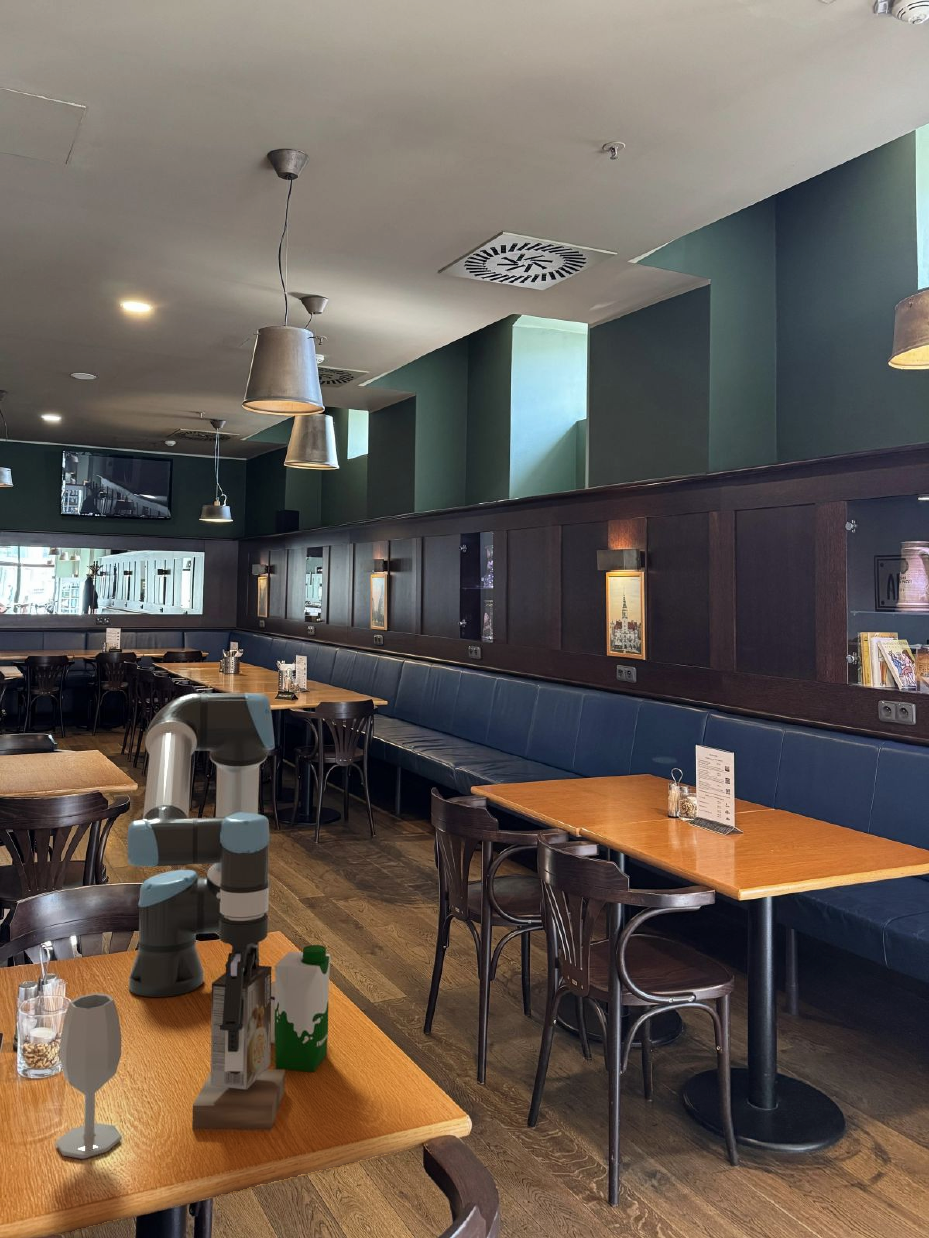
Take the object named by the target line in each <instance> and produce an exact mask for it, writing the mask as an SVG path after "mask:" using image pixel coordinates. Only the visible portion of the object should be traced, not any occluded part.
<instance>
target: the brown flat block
mask: <svg viewBox="0 0 929 1238" xmlns="http://www.w3.org/2000/svg"><path fill="white" fill-rule="evenodd" d="M285 1092H286V1069H265V1070H264V1071H263V1073H262V1074H261V1075H260V1076H259V1077H258V1078H257V1079H256V1080H255V1081H254V1082H253V1083H252V1085H251V1086H250V1087H249V1088H248V1089H237V1088H229V1087H220V1086H212V1085H211V1071H210V1072H209V1074H208V1076H207V1078H206V1080H205V1082H204V1084H203V1086H202V1088H201V1089H200V1091H199V1092H198V1095H197V1097H196V1098H195V1100H194V1103H193V1104H192V1125H191V1126H192V1127H191V1129H192V1130H227V1131H228V1130H229V1131H230V1130H238V1131H240V1130H242V1131H243V1130H244V1131H245V1130H247V1131H248V1130H251V1131H253V1130H254V1131H255V1130H256V1131H257V1130H258V1131H259V1130H260V1131H263V1130H264V1131H267V1130H268V1131H271V1130H272V1129H273V1127H274V1125H275V1121H276V1118H277V1115H278V1112H279V1109H280V1106H281V1104H282V1101H283V1097H284V1095H285Z"/></svg>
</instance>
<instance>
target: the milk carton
mask: <svg viewBox="0 0 929 1238" xmlns="http://www.w3.org/2000/svg"><path fill="white" fill-rule="evenodd" d="M331 958H332V957H331V954H329V953H327V947H326V946H324V945H319V944H311V945H307V946H304V947H303V948H302V952H300V951H299V952H297V951H288V953H287V954H285V955H284V956H283V957H282V958H281V959H280V960H279V961H278V962H277V963H275V964H274V982H275V1031H274V1041H275V1044H274V1068H275V1069H276V1070H287V1071H299V1072H308V1073H309V1072H310V1073H315V1071H317V1069H318V1067H319V1065H320V1064H321V1063H322V1062H323V1061H324V1059H325V1057H327V1055H328V1054H327V1052H328V1051H327V1050H328V1036H329V1003H330V1002H329V1000H330V999H329V997H330V996H329V993H330V992H329V991H330V988H329V987H330V969H331Z"/></svg>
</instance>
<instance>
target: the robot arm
mask: <svg viewBox="0 0 929 1238" xmlns="http://www.w3.org/2000/svg"><path fill="white" fill-rule="evenodd" d="M272 716H273V715H272V709H271V701H270V699H269V697H268V696H267V695H266V694H263V693H254V692H253V693H252V692H251V693H250V692H248V691H247V692H239V693H237V692H235V693H233V692H231V693H228V692H227V693H226V692H225V693H224V692H221V693H219V692H218V693H217V692H215V693H202V692H201V693H200V692H197V693H195V692H194V693H189V694H184V695H182V696H179V697H177V698H175V699H173V700H172V701H170V702H168V703H167V704H166V705H165V706H164V707H162V708H161V709H160V710H159V711H158V712H157V713H156V714H155V716H153V719H152V720H151V721H150V723H149V726H148V727H147V730H146V733H145V734H146V735H145V749H146V752H147V753H148V754H149V757H148V767H147V769H148V770H147V775H146V776H147V778H146V784H145V785H146V787H145V796H144V806H143V815H142V818H141V819H139V820H132V821H130V824H129V825H128V827H127V829H128V830H127V838H126V839H127V843H126V845H127V846H126V848H127V849H126V850H127V851H126V852H127V853H126V856H127V862H128V864H129V865H131V866H132V867H150V868H156V867H166V866H167V867H168V866H186V865H206V864H208V865H209V864H212V865H211V866H210V867H209V869H208V870H207V874H206V875H207V877H206V876H205V877H198V874H197V872H196V871H195V870H194V869H193V870H192V869H178V870H177V869H175V870H170V871H166V872H162V873H161V872H160V873H158V874H156V875H153V876H151V877H149V878H147V879H146V880H144V881H143V883H142V884H141V886H140V888H139V889H140V890H139V901H138V904H137V905H138V907H139V913H138V914H139V915H138V916H139V917H138V918H139V919H138V920H139V922H138V951H137V952H136V953H137V954H136V956H135V960H134V962H133V966H132V967H131V971H130V973H129V977H128V979H129V980H128V989H129V991H130V992H131V993H132V994H134V995H137V996H141V997H148V998H165V997H166V998H167V997H175V996H180V995H183V994H184V995H185V994H187V993H190V992H192V991H195V990H196V989H198V988H200V987H201V986H202V985H201V984H203V983H204V969H203V965H202V963H201V962H202V961H201V960H200V959H201V958H200V955H199V952H198V950H197V945H196V939H197V938H196V935H199V934H203V935H204V934H215V933H218V938H219V941H221V942H222V943H224V944H228V945H230V946H231V947H232V949H231V952H229V953H228V956H227V961H226V964H225V973H226V983H225V996H224V1010H223V1024H222V1025H220V1030H225V1071H243V1067H244V1027H243V1014H244V999H242V989H243V983H246V982H249V981H250V980H251V971H252V969H257V965H258V966H260V951H259V948H260V947H259V946H260V942H262V941H264V940H266V938H267V937H268V921H269V916H268V914H267V912H268V911H269V892H270V878H269V863H270V862H269V861H270V860H269V859H270V857H269V855H270V841H271V834H270V824H269V823H270V821H269V819H268V817H267V816H265V815H262V814H259V808H258V807H259V788H260V787H259V786H260V785H259V784H260V765H261V764H262V763H264V762H265V761H266V759H267V758H268V752H269V751H271V750H274V749H275V735H274V725H273V717H272ZM195 751H196V752H197V751H198V752H199V751H200V752H202V751H203V752H207V751H209V759H210V760H211V762H212V763H213V764H215V765H216V795H215V796H216V797H215V799H216V800H215V802H216V803H215V804H216V805H215V806H216V809H215V817H194V818H193V817H192V818H191V817H189V816H190V815H189V814H190V813H189V811H190V786H191V766H192V765H191V763H192V761H191V760H192V755H193V754H194V752H195ZM243 976H245V977H243ZM202 982H203V983H202ZM200 985H201V986H200ZM199 986H200V987H199ZM194 989H195V990H194Z"/></svg>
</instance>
